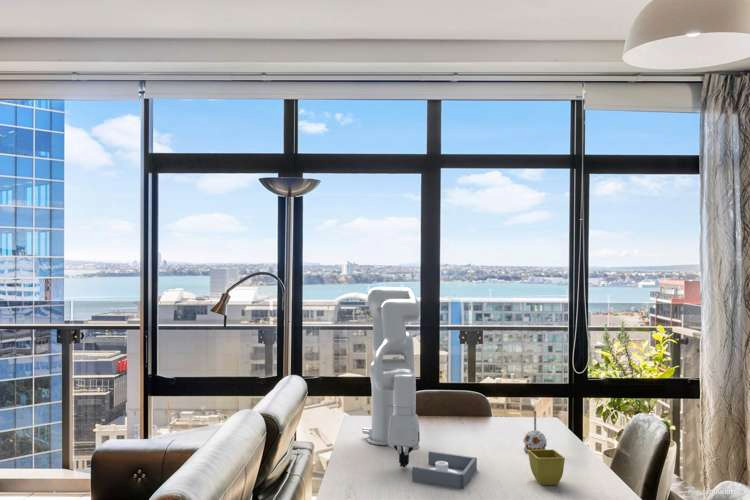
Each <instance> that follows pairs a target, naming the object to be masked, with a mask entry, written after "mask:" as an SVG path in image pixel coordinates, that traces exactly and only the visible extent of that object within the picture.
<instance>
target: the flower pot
mask: <svg viewBox="0 0 750 500" xmlns="http://www.w3.org/2000/svg"><path fill="white" fill-rule="evenodd" d="M527 454H528V461H529V466H530V470H531V473H532V474H533V477H534V479H535V481H537V482H538V483H539V484H540V485H541V486H556V485H558V484H559V483H560V481H561V480H562V478H563V475H564V469H565V461H566V460H565V459H566V458H565V457H564V456H563V455H562V454H561V453H559V452H558V451H557V450H555V449H553V448H552V449H546V450H528V452H527Z"/></svg>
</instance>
